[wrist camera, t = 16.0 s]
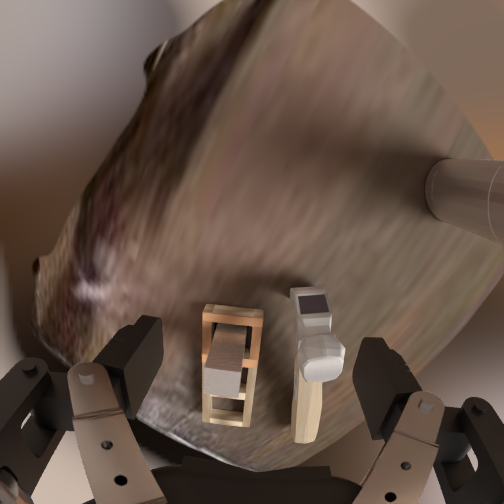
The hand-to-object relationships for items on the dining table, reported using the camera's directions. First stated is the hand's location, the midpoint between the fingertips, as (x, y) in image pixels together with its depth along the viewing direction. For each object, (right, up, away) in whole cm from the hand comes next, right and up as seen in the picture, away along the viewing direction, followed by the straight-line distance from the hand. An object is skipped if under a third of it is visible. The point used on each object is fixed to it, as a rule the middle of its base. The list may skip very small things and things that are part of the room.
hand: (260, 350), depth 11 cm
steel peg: (-3, -8, +31) cm, 32 cm away
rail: (-4, -14, +33) cm, 36 cm away
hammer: (+8, -13, +33) cm, 36 cm away
